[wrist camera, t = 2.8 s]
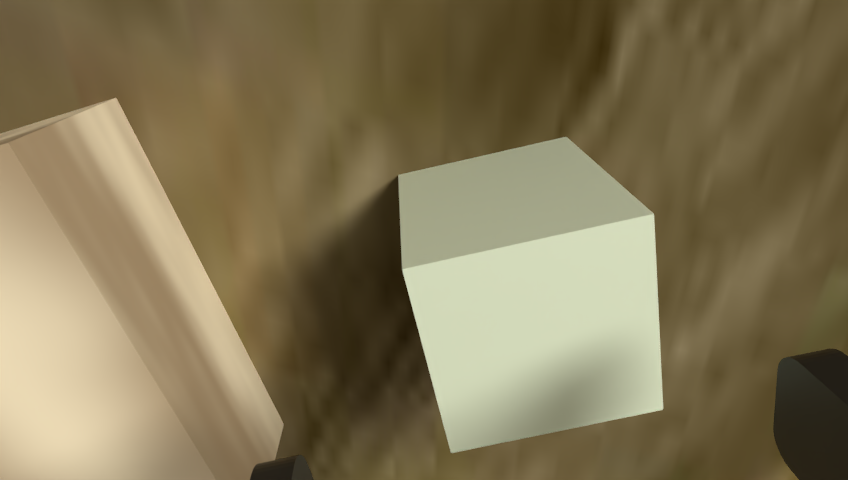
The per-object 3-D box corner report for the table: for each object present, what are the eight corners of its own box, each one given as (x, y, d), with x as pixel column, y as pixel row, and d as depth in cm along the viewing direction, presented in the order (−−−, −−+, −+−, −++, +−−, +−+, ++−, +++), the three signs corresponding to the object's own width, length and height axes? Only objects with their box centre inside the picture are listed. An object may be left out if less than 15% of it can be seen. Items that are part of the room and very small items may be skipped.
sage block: (565, 136, 16) (654, 214, 11) (582, 283, 18) (662, 409, 13) (398, 174, 16) (402, 268, 11) (433, 315, 19) (451, 453, 13)
